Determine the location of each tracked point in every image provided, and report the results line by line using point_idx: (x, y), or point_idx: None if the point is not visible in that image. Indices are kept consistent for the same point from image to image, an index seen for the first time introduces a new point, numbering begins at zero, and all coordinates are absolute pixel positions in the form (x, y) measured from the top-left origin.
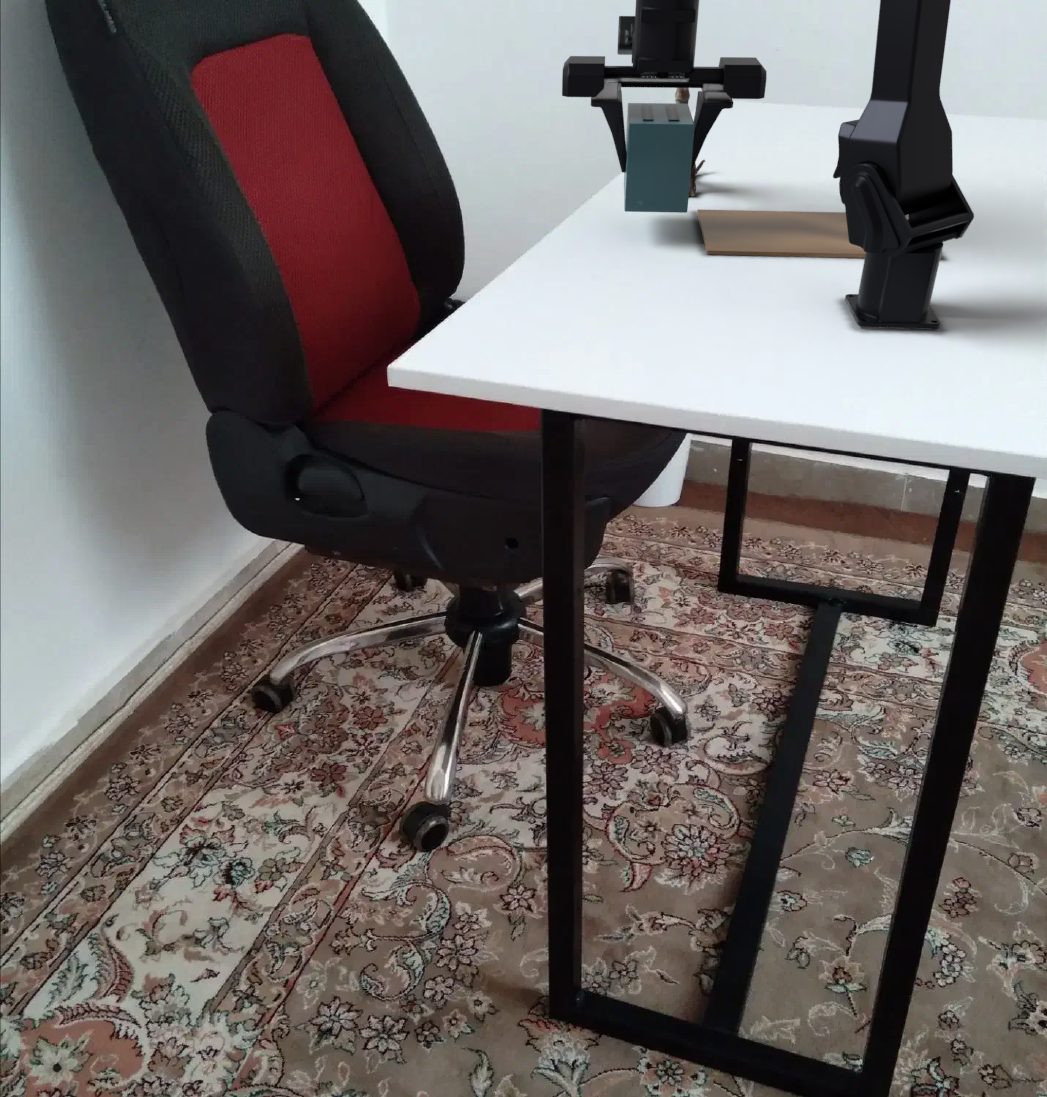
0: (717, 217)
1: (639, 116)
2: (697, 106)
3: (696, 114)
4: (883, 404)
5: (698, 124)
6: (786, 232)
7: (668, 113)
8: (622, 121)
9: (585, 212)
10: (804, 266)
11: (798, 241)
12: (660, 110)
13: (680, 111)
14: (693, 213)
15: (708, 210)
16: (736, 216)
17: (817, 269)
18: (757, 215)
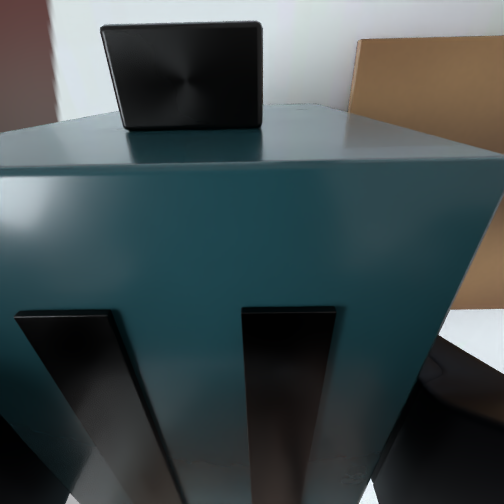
0: (392, 121)
1: (121, 498)
2: (447, 478)
3: (409, 452)
4: (370, 496)
5: (375, 479)
6: (494, 220)
7: (255, 479)
8: (66, 492)
9: (60, 61)
10: (440, 334)
11: (486, 265)
12: (207, 416)
13: (332, 431)
14: (347, 40)
15: (389, 47)
16: (443, 107)
17: (451, 341)
18: (502, 91)
